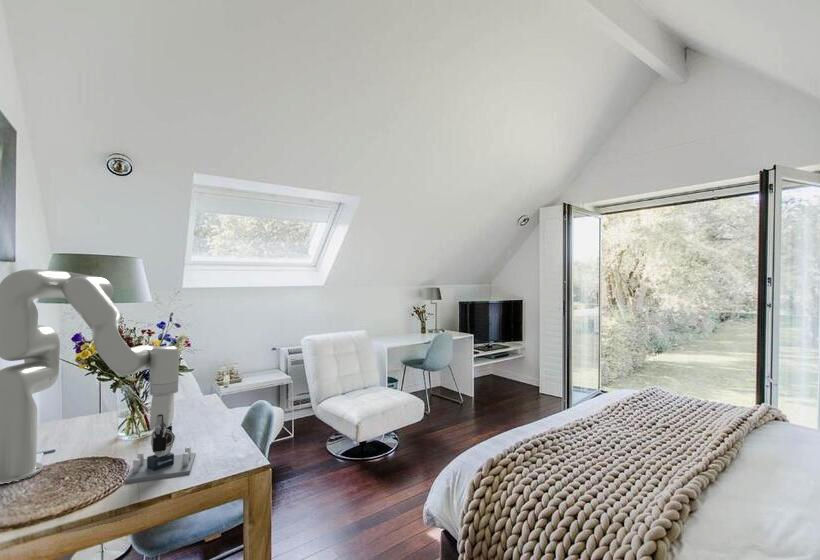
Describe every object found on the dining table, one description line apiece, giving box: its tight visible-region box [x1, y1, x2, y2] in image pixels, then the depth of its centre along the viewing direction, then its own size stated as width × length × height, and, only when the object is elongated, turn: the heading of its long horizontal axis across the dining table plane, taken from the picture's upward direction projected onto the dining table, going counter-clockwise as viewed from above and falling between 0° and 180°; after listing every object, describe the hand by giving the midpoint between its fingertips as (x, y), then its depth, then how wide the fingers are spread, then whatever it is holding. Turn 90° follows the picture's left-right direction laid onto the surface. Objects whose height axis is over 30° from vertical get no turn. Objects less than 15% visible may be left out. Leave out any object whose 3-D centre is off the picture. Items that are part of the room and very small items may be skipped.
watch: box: [146, 429, 176, 471], centre depth 123 cm, size 6×8×11 cm
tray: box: [124, 446, 196, 484], centre depth 123 cm, size 16×14×4 cm
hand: (162, 444), depth 123 cm, fingers open, 9 cm apart
